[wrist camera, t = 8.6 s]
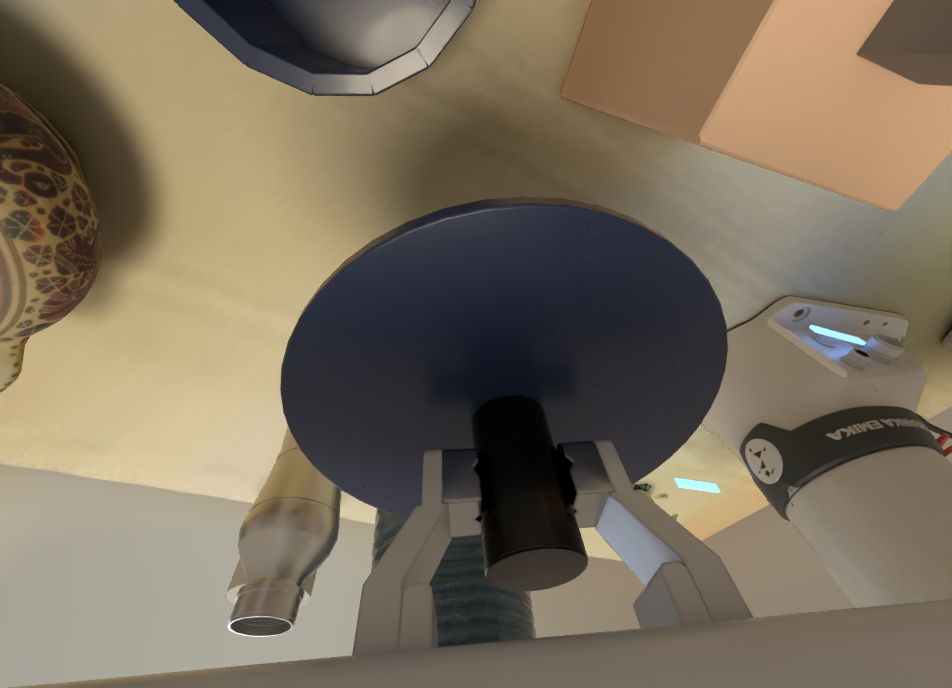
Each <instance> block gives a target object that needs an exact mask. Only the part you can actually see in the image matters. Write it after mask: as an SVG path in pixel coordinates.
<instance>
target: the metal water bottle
mask: <svg viewBox="0 0 952 688" xmlns="http://www.w3.org/2000/svg"><path fill="white" fill-rule="evenodd" d="M340 500H341V489H340V488H339V487H337V486H336V485H334V484H333V483H332V482H330V481H329V480H328V479H326V478H325V477H324V476H323V475H322V474H321V473H320V472H319V471H318V470H317V469H316V468H315V467H314V466H313V465H312V464H311V463H310V461H309V460H308V459H307V458H306V456H305V455H304V454H303V453H302V451H301V450H300V448H299V446H298V445H297V443H296V441H295V439H294V438H293V436H292V434H291V432H290V429H289V426H288V427H287V431H286V434H285V438H284V441H283V445H282V448H281V451H280V453H279V455H278V458H277V460H276V463H275V464H274V466H273V469H272V471H271V473H270V475H269V477H268V480H267V482H266V483H265V485H264V487H263V489H262V490H261V492H260V494H259V495H258V497H257V499H256V501H255V502H254V504H253V506H252V508H251V510H250V511H249V513H248V515H247V516H246V518H245V520H244V522H243V524H242V526H241V528H240V533H239V542H238V548H239V554H240V559H241V564H242V567H243V570H244V573H245V576H246V579H247V583H246V585H244V586H242V587H241V588H240V589H239V591H238V593H237V596H236V599H235V600H236V604H235V607H234V609H233V612H232V614H231V617H230V619H229V624H228V629H229V630H231V631H232V632H234V633H237V634H241V635H246V636H256V637H257V636H258V637H262V636H263V637H264V636H275V635H280V634H284V633H287V632H289V631H290V630H292V629H293V626H294V624H295V621H296V617H297V613H298V610H299V606H300V604H301V603H302V601H303V597H304V590H303V589H302V588H301V587H302V584H303V583H304V582H305V581H306V580H307V579H308V578H309V577H310V576H311V575H312V574H313V573H314V572H315V571H316V570H317V569H318V568H319V567H320V566H321V565H322V563H323V562H324V561H325V560H326V559H327V557H328V556H329V555H330V553H331V551H332V549H333V547H334V545H335V543H336V541H337V537H338V530H339V517H340Z"/></svg>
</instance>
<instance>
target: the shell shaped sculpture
mask: <svg viewBox="0 0 952 688" xmlns="http://www.w3.org/2000/svg"><path fill="white" fill-rule="evenodd" d="M942 345H944V346H945V347H949V348H952V330H951V331H950V332H949V333H948V335H947V336H946V337H945V338H944V339H943V342H942Z"/></svg>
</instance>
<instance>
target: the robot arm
mask: <svg viewBox="0 0 952 688" xmlns="http://www.w3.org/2000/svg"><path fill="white" fill-rule="evenodd" d="M908 325H909V321H908V320H907V319H906V318H904V317H903V316H902V315H899V314H896V313H890V312H884V311H878V310H872V309H866V308H860V307H854V306H848V305H842V304H836V303H830V302H824V301H818V300H812V299H806V298H800V297H794V296H788V297H785V298H782V299H780V300H779V301H777V302H775V303H774V304H773V305H771V306H770V307H769V308H767V309H766V310H765V311H763V312H762V313H761V314H760V315H759V316H757V317H756V318H754V319H753V320H751V321H749V322H747V323H745V324H743V325H741V326H739V327H737V328H735V329H733V330H731V331H729V332H727V340H728V353H727V361H726V369H725V373H724V376H723V380H722V383H721V386H720V389H719V392H718V394H717V396H716V398H715V400H714V402H713V404H712V406H711V409H710V410H709V412H708V413H707V415H706V416H705V418H704V419H703V421H702V423H703V425H704V426H705V427H706V428H707V429H708V430H709V431H710V432H711V433H715V434H716V435H717V437H718V438H719V439H720V440H721V441H722V442H723V443H724V444H725V445H726V446H727V447H728V448H729V449H730V451H731V452H732V453H733V454H734V455H735V456H736V457H737V458H738V459H739V460H740V461H741V462H742V464H743V465H744V466H745V467H746V468H747V469H748V470H749V472H750V474H751V476H752V478H753V480H754V482H755V484H756V485H757V486H758V488H759V489H760V490H761V492H762V493H763V494H764V496H765V497H766V498H767V501H768V502H769V503H770V505H771V506H772V507H774V508H775V509H776V511H777V512H778V513H779V515H780V516H781V517H782V518H784V519H786V520H788V521H791V522H792V524H793V525H794V526H795V528H796V529H797V530H798V532H799V533H800V534H801V535H802V537H803V538H804V539H805V541H806V542H807V543H808V545H809V546H810V547H811V549H812V550H813V551H814V553H815V554H816V555H817V557H818V558H819V559H820V561H821V562H822V563H823V565H824V566H825V567H826V569H827V570H828V571H829V572H830V574H831V575H832V577H833V578H834V579H835V581H836V582H837V583H838V584H839V586H840V587H841V588H842V590H843V591H844V592H845V594H846V595H847V596H848V598H849V599H850V600H851V602H852V603H853V604H854V605H855V607H856V608H851V609H840V610H831V611H830V610H829V611H819V612H808V613H798V614H787V615H778V616H766V617H755V618H753V616H752V614H751V612H750V611H749V609H748V607H747V605H746V603H745V601H744V600H743V598H742V596H741V594H740V593H739V591H738V589H737V587H736V585H735V584H734V582H733V580H732V578H731V576H730V575H729V573H728V571H727V569H726V567H725V566H724V564H723V562H722V560H721V559H720V557H719V556H718V555H716V553H714V552H713V551H712V550H710V548H708V547H707V546H706V545H704V544H703V543H702V542H701V541H700V540H699V539H697V538H696V537H695V536H694V535H693V534H691V533H690V532H689V531H688V530H687V529H685V528H684V527H683V526H682V525H681V524H679V523H678V522H677V521H676V520H675V519H673V518H672V517H671V516H670V515H669V514H667V513H666V512H665V511H664V510H663V509H661V508H660V507H659V506H658V505H656V504H655V503H654V502H653V501H652V500H650V499H649V498H648V497H647V496H646V495H644V494H643V493H642V492H641V491H640V490H638V491H634V489H633V486H632V484H631V482H630V480H629V478H628V475H627V473H626V471H625V469H624V467H623V464H622V462H621V460H620V458H619V456H618V454H617V451H616V449H615V447H614V445H613V443H612V442H611V441H610V440H597V441H591V440H589V441H576V442H563V443H558V444H557V447H556V452H557V456H558V459H559V463H560V466H561V469H562V473H563V476H564V479H565V483H566V486H567V490H568V493H569V496H570V500H571V503H572V506H573V510H574V513H575V517H576V520H577V523H578V527H579V528H588V527H596V528H595V529H596V530H597V532H598V533H599V534H600V535H601V536H602V537H603V538H604V540H605V541H606V542H607V543H608V544H609V545H610V546H611V548H612V549H613V550H614V551H615V552H616V553H617V554H618V556H619V557H620V558H621V559H622V560H623V561H624V562H625V563H626V565H627V566H628V567H629V568H630V569H631V570H632V572H633V573H634V574H635V575H636V576H637V577H638V578H639V580H640V581H641V582H642V583H643V584H644V585H645V588H644V589H643V591H642V592H641V593H640V595H639V597H638V598H637V599H636V601H635V602H634V604H633V607H634V610H635V613H636V616H637V619H638V622H639V625H640V627H641V628H640V629H639V628H638V629H628V630H617V631H607V632H596V633H586V634H575V635H565V636H554V637H543V638H532V639H522V640H511V641H501V642H490V643H479V644H469V645H458V646H448V647H438V630H437V617H436V611H435V604H434V598H433V591H432V587H431V586H430V585H429V583H430V581H431V579H432V577H433V575H434V573H435V571H436V569H437V567H438V565H439V563H440V561H441V559H442V557H443V555H444V553H445V551H446V549H447V547H448V545H449V543H450V541H451V538H455V537H465V536H474V535H481V525H480V515H481V513H482V497H481V486H480V476H479V475H478V454H477V448H470V449H445V450H443V451H442V450H425V452H424V458H423V483H422V505H418V506H416V507H415V508H414V510H413V511H412V513H411V514H410V516H409V517H408V519H407V520H406V522H405V523H404V525H403V526H402V528H401V529H400V531H399V532H398V534H397V535H396V537H395V538H394V540H393V541H392V543H391V544H390V546H389V547H388V549H387V550H386V552H385V553H384V554H383V556H382V557H381V559H380V560H379V562H378V563H377V565H376V566H375V568H374V569H373V571H372V572H371V574H370V575H369V577H368V578H367V580H366V581H365V583H364V584H363V588H362V594H361V601H360V607H359V614H358V621H357V627H356V634H355V641H354V647H353V654H352V656H341V657H331V658H320V659H310V660H299V661H289V662H279V663H267V664H258V665H257V664H256V665H247V666H235V667H225V668H214V669H203V670H193V671H182V672H172V673H161V674H150V675H141V676H129V677H119V678H108V679H98V680H88V681H77V682H67V683H57V684H45V685H34V686H21V687H10V688H952V462H950V461H949V460H948V459H946V458H945V457H946V456H947V455H948V454H950V453H951V452H952V445H951V446H950V447H948V448H946V449H945V450H943V449H942V446H943V445H944V444H945V442H946V441H947V439H948V437H949V438H952V433H950V432H947V431H945V430H942V429H940V428H938V427H936V426H934V425H932V424H930V423H928V422H927V421H925V420H924V419H923V418H921V417H920V416H919V415H917V414H915V413H916V409H917V406H918V402H919V399H920V396H921V393H922V390H923V388H924V385H925V382H926V376H927V374H926V370H925V367H924V366H923V365H922V363H920V362H919V361H918V360H917V359H916V358H914V357H913V356H912V355H910V354H909V353H907V352H906V351H904V350H905V347H906V346H905V345H904V344H903V343H902V342H903V340H904V338H905V336H906V333H907V330H908ZM929 430H931V431H933V432H936V433H938V434H940V435H941V436H940V437H939V438H938V439H935V438H934V436H933V435H932V434H931V433H930V431H929ZM674 480H675V482H676V483H677V485H678V487H680V488H687V489H694V490H702V491H709V492H716V493H719V492H720V490H719V488H718V487H717V485H716V484H713V483H706V482H700V481H693V480H686V479H680V478H675V479H674Z"/></svg>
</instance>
